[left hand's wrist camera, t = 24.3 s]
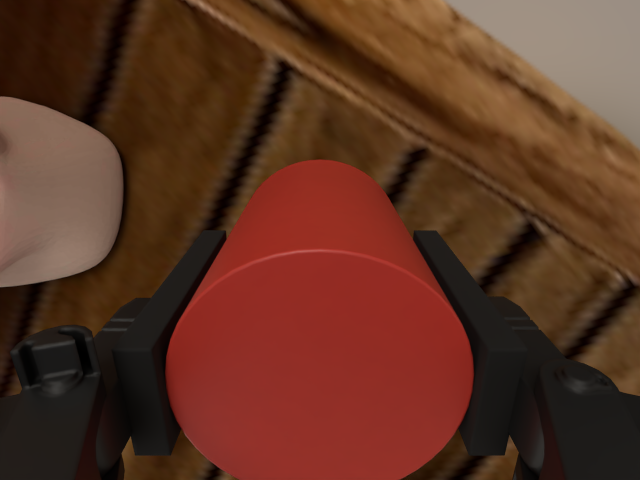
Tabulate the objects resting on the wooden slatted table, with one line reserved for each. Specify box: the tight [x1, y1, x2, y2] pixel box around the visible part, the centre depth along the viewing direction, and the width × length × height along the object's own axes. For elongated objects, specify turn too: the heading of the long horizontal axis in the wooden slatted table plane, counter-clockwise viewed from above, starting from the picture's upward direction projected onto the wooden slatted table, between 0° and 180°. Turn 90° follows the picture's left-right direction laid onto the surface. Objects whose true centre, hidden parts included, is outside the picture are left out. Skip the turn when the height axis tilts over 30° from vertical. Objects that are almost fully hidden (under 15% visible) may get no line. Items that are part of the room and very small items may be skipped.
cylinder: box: [165, 160, 474, 480], centre depth 13 cm, size 6×6×9 cm
